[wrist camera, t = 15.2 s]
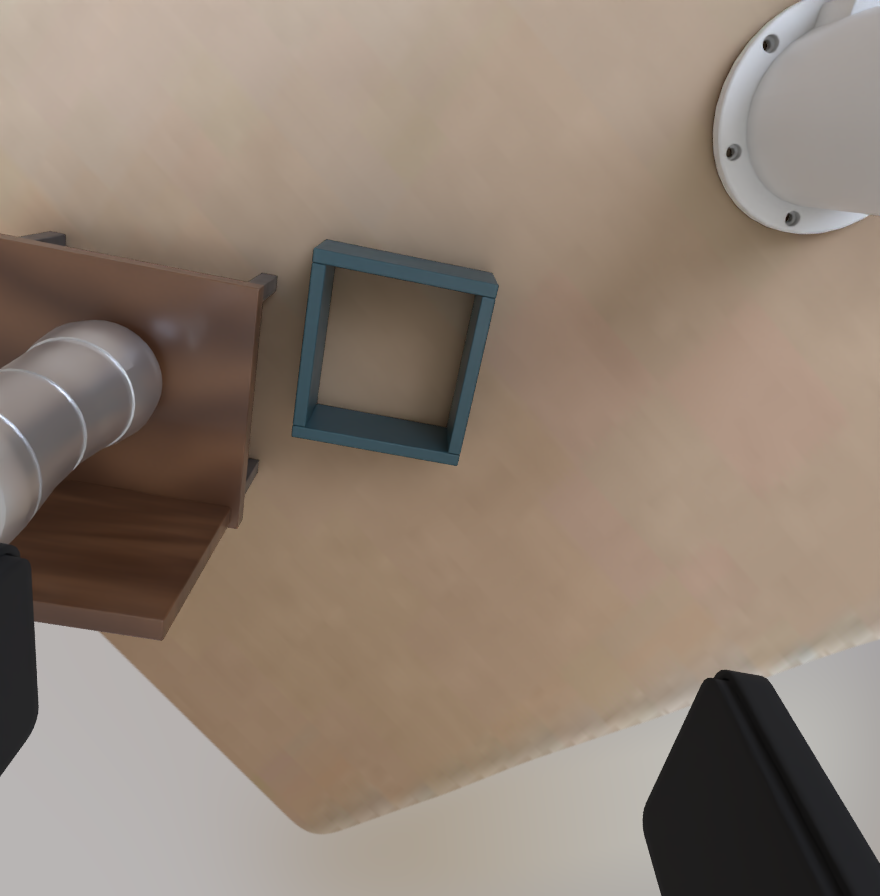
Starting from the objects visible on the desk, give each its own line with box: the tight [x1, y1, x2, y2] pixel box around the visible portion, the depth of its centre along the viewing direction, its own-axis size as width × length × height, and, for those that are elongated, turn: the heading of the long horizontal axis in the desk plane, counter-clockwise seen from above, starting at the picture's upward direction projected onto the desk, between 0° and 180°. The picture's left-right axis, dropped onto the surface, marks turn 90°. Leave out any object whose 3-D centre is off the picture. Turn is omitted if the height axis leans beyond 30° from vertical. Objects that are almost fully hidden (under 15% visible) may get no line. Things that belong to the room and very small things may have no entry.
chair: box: [0, 231, 277, 640], centre depth 36 cm, size 15×15×18 cm
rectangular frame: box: [292, 239, 499, 466], centre depth 42 cm, size 12×11×4 cm
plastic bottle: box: [0, 320, 162, 544], centre depth 28 cm, size 6×7×20 cm
